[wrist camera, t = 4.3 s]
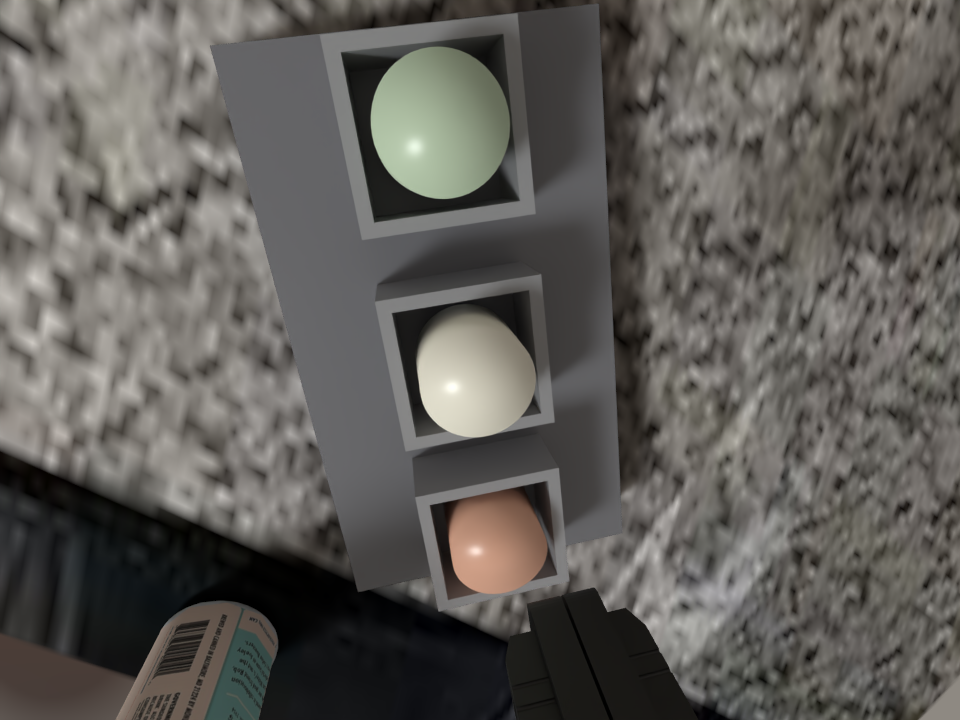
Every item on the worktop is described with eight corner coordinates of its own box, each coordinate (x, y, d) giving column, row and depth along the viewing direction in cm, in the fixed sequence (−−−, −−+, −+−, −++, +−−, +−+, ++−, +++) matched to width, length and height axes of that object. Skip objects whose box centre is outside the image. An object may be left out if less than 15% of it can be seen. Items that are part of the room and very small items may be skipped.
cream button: (507, 296, 16) (530, 318, 14) (518, 388, 18) (540, 425, 15) (407, 313, 16) (410, 339, 14) (424, 406, 17) (430, 447, 15)
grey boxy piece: (576, 22, 17) (636, -29, 13) (603, 505, 24) (649, 575, 20) (230, 61, 16) (174, 19, 12) (360, 557, 23) (353, 644, 18)
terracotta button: (522, 460, 19) (543, 504, 17) (530, 530, 21) (551, 581, 18) (437, 478, 19) (445, 525, 17) (450, 548, 20) (459, 603, 18)
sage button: (481, 64, 14) (501, 38, 12) (495, 187, 15) (516, 188, 13) (363, 78, 14) (356, 55, 11) (386, 202, 15) (385, 207, 12)
